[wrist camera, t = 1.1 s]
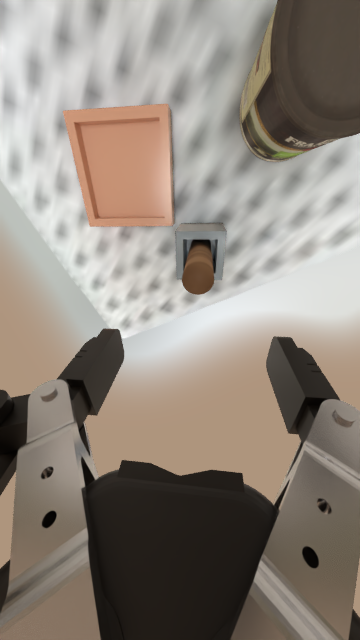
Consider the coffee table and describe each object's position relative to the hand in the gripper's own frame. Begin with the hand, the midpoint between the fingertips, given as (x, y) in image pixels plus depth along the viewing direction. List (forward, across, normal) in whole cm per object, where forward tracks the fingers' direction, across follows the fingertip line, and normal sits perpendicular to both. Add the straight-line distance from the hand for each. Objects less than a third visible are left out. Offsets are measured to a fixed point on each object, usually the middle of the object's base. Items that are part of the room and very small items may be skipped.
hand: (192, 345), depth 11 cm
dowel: (+24, 0, 0) cm, 24 cm away
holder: (+24, 0, 0) cm, 24 cm away
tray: (+24, +10, -9) cm, 28 cm away
